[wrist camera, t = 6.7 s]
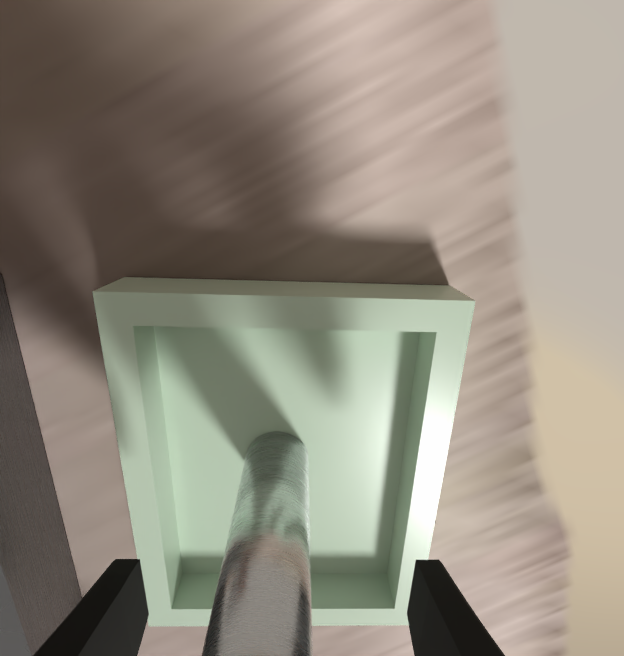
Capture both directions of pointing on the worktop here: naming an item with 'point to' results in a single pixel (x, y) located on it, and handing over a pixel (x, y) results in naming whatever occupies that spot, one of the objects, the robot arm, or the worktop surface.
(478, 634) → the robot arm
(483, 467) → the worktop surface
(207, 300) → the tray
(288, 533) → the hitch pin
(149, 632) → the worktop surface
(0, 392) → the drawbar
